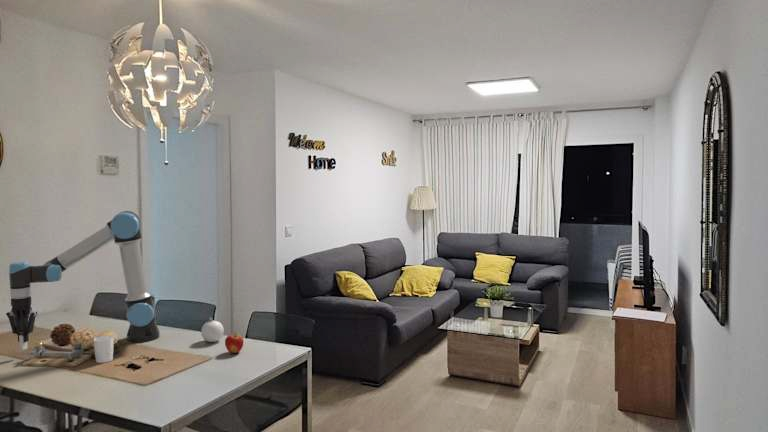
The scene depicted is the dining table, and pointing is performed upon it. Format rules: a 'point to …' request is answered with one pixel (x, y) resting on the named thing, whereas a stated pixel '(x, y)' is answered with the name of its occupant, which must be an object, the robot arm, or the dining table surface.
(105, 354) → the white cup
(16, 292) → the robot arm
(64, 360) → the jig board
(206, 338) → the ornament
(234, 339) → the apple
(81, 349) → the dividers beam
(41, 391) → the dining table surface
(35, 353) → the sliding leg
